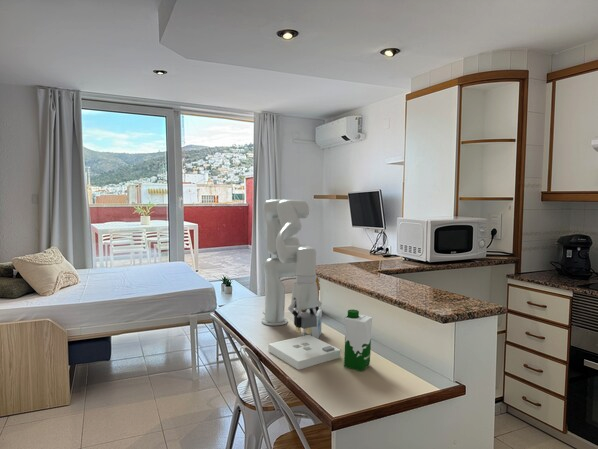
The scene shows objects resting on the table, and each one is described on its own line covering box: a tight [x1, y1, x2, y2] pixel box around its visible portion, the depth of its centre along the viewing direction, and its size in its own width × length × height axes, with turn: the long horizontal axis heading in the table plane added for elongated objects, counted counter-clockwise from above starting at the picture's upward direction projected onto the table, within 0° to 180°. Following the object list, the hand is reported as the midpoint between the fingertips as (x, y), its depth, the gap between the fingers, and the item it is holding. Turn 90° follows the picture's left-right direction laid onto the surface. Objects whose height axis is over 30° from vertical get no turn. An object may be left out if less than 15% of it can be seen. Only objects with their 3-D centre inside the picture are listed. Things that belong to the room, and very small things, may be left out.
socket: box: [267, 335, 342, 370], centre depth 153 cm, size 20×20×4 cm
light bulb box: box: [302, 309, 323, 340], centre depth 174 cm, size 11×7×11 cm, turn 168°
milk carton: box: [343, 309, 373, 372], centre depth 143 cm, size 9×9×20 cm
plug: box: [293, 311, 317, 334], centre depth 151 cm, size 6×6×6 cm
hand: (304, 325), depth 152 cm, fingers closed on plug, 6 cm apart
